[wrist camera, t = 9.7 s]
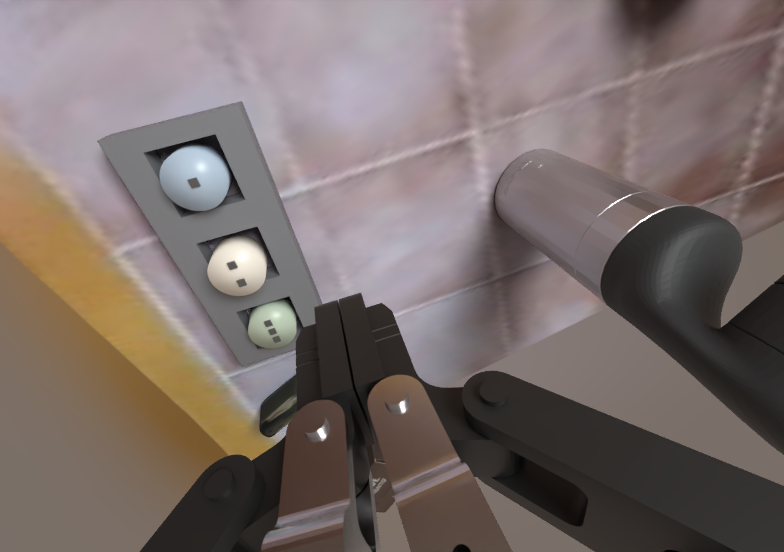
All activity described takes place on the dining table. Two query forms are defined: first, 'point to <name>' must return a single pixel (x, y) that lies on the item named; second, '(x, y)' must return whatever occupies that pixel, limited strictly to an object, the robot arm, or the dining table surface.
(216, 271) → the cream button
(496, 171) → the dining table surface
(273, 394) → the mobile phone
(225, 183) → the blue button
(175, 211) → the button board
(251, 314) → the sage button
